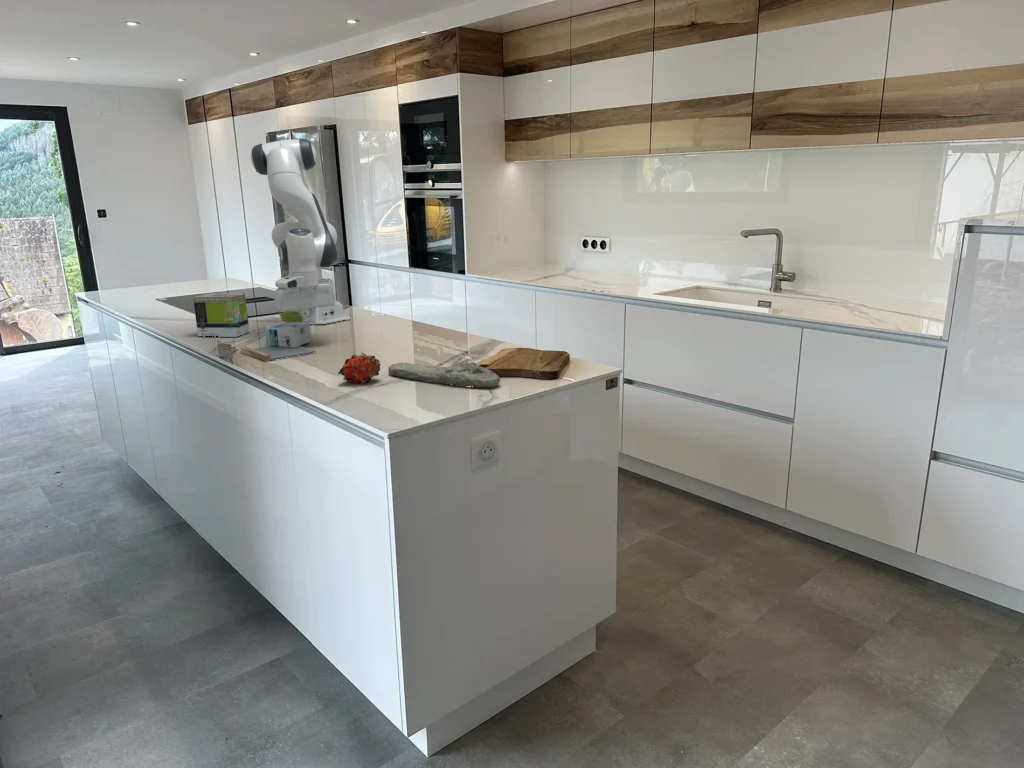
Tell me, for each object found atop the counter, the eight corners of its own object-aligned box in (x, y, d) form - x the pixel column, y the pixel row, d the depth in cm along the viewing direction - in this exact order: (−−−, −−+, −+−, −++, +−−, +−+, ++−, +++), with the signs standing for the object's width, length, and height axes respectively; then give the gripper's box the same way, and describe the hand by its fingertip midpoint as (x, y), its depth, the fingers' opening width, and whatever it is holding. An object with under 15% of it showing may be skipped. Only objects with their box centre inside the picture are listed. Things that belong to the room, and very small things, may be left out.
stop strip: (245, 351, 225) (245, 346, 225) (271, 360, 213) (270, 355, 212) (240, 352, 224) (240, 347, 223) (266, 361, 212) (265, 355, 211)
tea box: (250, 332, 256) (246, 292, 253) (237, 338, 247) (232, 296, 243) (211, 332, 258) (206, 292, 254) (197, 337, 248) (191, 296, 244)
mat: (289, 344, 235) (289, 342, 235) (316, 352, 223) (315, 351, 223) (246, 351, 225) (246, 349, 225) (271, 360, 213) (271, 358, 213)
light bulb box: (293, 328, 225) (263, 326, 228) (294, 348, 227) (265, 346, 230) (310, 322, 235) (281, 320, 238) (311, 341, 237) (283, 339, 240)
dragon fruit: (385, 384, 191) (344, 397, 186) (373, 362, 195) (332, 374, 190) (387, 365, 185) (344, 377, 180) (375, 342, 189) (332, 354, 184)
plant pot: (301, 340, 242) (299, 316, 240) (276, 339, 244) (274, 315, 241) (313, 335, 251) (311, 311, 248) (289, 334, 253) (287, 310, 250)
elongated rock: (402, 374, 203) (381, 384, 194) (399, 356, 201) (378, 366, 193) (508, 381, 187) (490, 392, 178) (506, 362, 185) (488, 373, 177)
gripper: (327, 276, 234) (331, 317, 238) (270, 282, 221) (274, 325, 224) (337, 278, 230) (340, 319, 234) (279, 284, 216) (283, 327, 220)
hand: (307, 322), depth 229 cm, fingers closed
